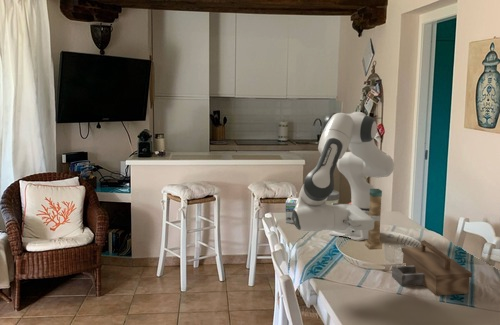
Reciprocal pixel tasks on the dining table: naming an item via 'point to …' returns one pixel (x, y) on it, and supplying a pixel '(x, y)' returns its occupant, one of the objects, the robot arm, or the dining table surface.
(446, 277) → the toolbox
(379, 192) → the wooden key
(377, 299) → the dining table surface
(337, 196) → the reusable coffee cup
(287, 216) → the light bulb box
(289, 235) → the dining table surface
